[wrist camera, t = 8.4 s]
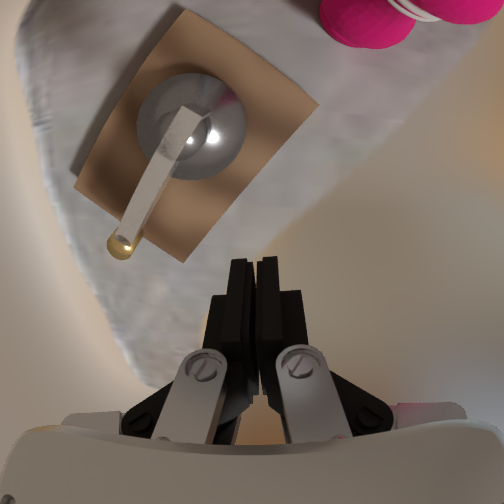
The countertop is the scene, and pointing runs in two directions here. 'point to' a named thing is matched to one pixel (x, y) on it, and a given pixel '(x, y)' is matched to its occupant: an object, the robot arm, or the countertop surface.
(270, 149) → the walnut board
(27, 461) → the robot arm
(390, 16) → the pepper mill
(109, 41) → the countertop surface
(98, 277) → the countertop surface
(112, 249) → the dial
